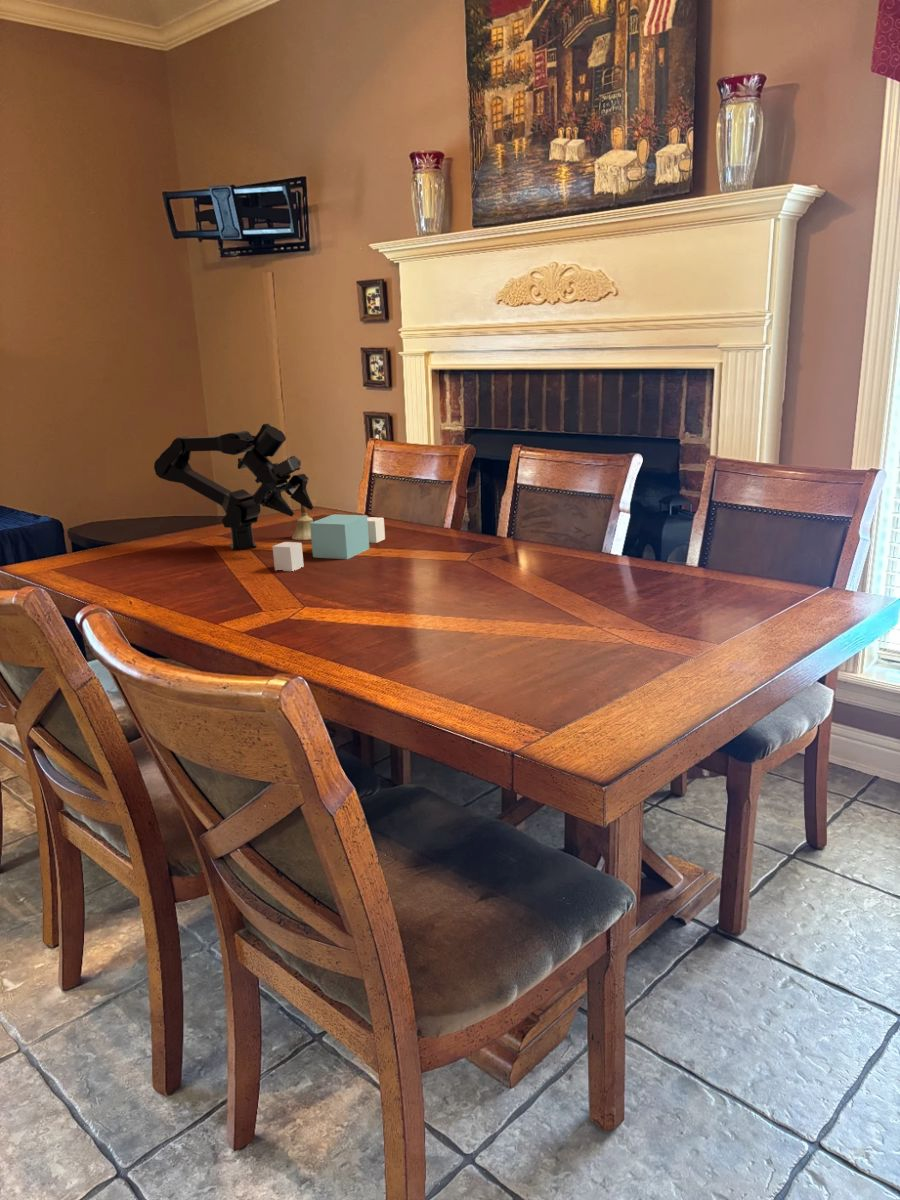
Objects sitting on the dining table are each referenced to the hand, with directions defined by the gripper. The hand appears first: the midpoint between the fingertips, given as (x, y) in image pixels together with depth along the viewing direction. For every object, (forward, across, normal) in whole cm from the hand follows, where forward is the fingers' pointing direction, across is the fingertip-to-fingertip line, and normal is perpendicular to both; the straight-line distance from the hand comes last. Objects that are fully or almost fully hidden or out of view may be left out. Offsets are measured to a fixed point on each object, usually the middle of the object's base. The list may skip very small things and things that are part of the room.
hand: (302, 511), depth 222 cm
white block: (+12, -18, +3) cm, 22 cm away
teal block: (+15, 0, 0) cm, 15 cm away
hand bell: (+1, +15, +14) cm, 21 cm away
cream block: (+16, +15, -1) cm, 22 cm away
